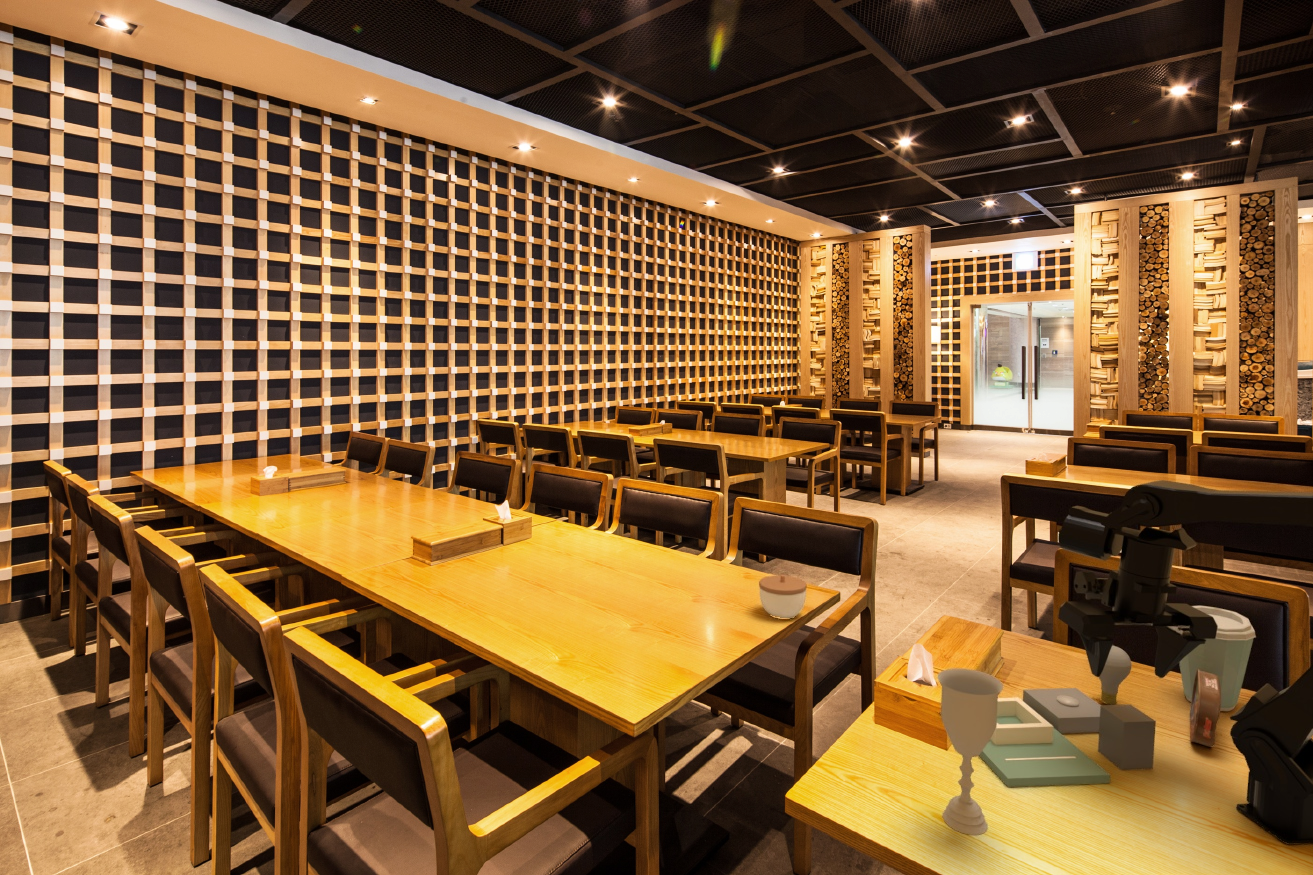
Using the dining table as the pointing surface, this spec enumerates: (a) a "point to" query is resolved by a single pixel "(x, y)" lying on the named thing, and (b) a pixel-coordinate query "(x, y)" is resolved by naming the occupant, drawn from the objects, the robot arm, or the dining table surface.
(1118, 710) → the plug
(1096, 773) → the board
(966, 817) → the chalice
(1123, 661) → the light bulb
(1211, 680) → the tin
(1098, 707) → the grey domed button plate
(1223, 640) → the disposable coffee cup
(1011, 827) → the dining table surface
